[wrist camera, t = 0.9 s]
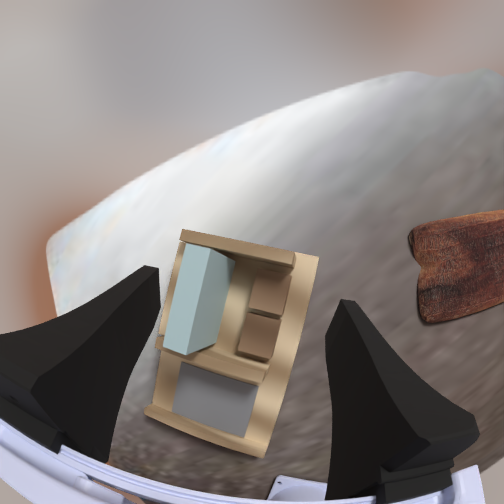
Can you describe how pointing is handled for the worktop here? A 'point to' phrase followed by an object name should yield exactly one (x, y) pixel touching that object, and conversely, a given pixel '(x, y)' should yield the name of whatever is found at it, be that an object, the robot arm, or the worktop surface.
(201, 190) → the worktop surface
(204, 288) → the panel
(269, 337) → the offcut
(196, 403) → the felt pad
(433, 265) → the wooden tablet
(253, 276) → the rack
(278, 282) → the offcut
